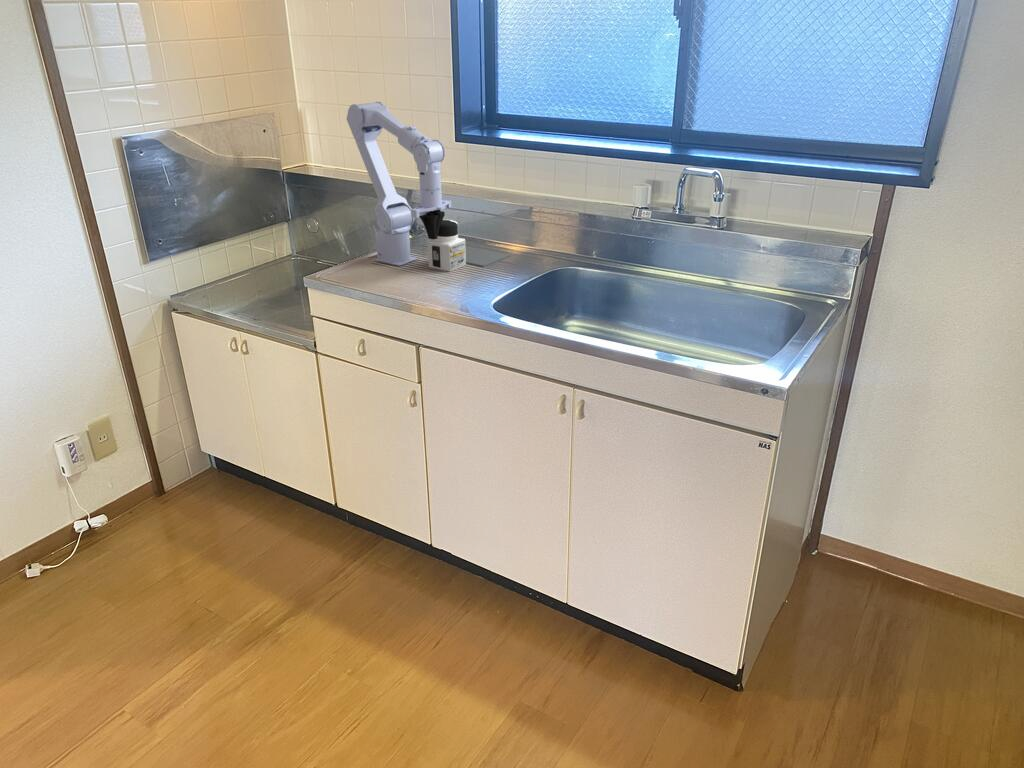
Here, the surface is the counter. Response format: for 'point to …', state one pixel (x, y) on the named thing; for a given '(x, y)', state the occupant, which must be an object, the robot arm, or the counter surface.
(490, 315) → the counter surface
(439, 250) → the container
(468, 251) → the mat
